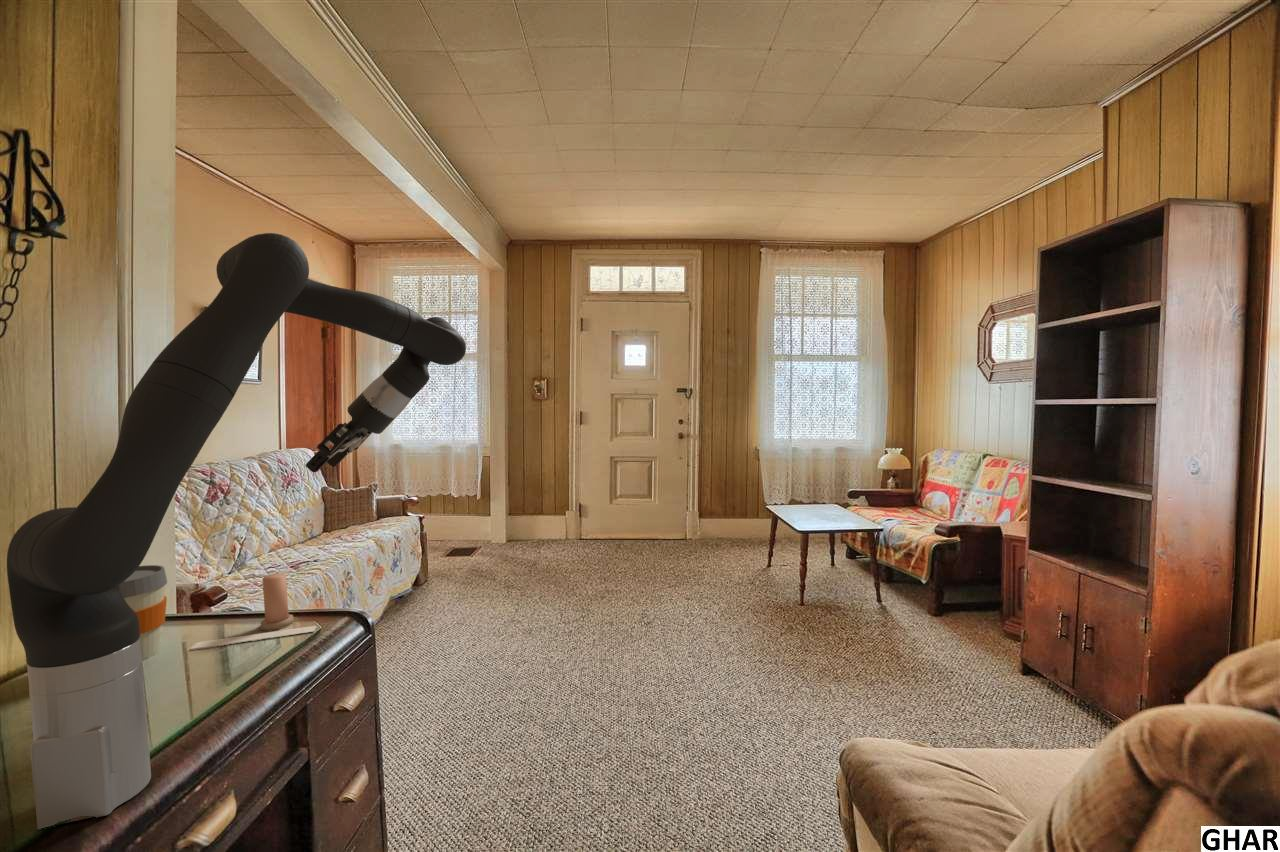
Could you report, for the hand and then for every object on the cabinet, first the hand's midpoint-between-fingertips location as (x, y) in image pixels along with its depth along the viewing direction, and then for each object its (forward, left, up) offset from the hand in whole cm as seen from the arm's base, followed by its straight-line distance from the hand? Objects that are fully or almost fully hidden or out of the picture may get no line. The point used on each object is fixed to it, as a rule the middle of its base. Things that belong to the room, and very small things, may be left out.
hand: (320, 466), depth 107 cm
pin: (+11, +12, -33) cm, 36 cm away
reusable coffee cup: (+5, +34, -33) cm, 47 cm away
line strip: (+5, +14, -33) cm, 36 cm away
